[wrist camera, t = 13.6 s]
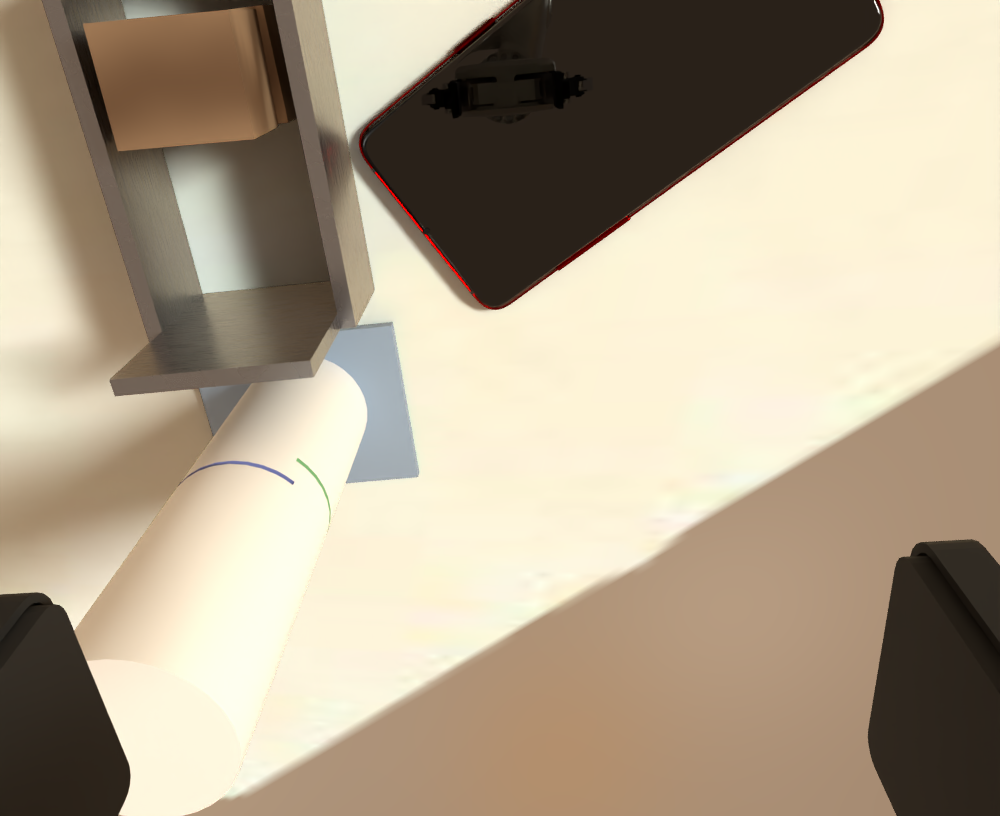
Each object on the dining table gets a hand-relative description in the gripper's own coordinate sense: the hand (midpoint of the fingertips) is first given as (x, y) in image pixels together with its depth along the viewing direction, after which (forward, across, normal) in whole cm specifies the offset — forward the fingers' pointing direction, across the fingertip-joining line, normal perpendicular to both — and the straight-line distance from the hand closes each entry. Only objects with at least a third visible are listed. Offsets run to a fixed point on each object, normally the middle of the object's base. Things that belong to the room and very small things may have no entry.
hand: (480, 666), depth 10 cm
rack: (+38, +14, -1) cm, 40 cm away
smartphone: (+39, -6, -2) cm, 39 cm away
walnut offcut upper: (+34, +14, -4) cm, 36 cm away
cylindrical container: (+37, +13, +15) cm, 42 cm away
